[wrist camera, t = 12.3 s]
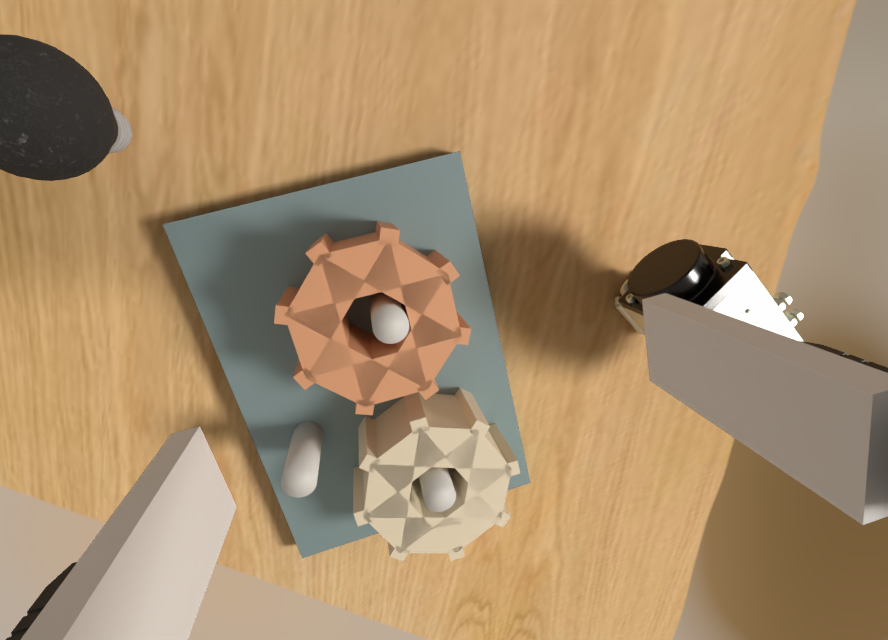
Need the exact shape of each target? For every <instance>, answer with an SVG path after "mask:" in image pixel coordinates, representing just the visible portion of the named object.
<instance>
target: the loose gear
mask: <svg viewBox="0 0 888 640" xmlns="http://www.w3.org/2000/svg"><path fill="white" fill-rule="evenodd" d="M399 234H400V230H399V229H398V228H397V227H396V226H395V225H394V224H392V223H386V222H380V221H377V223H376V231H375V232H373V233H369V234H365V235H361V236H357V237H353V238H349V239H344V240H340V241H336V242H333V241H332V239H331V238H330V237H329V236H328V234H327V233H326V234H324V235H323V236H322V237H320V238H319V239H318V240H316V241H315V242H314V243H313V244H312V245H311V246H310V248H309V249H308V250H307V252H306V253H305V254H306V255H307V256H308V257H309V258H310V260H311V261H312V262H313V263H314V264H313V266H312V268H311V269H310V271H309V273H308V275H307V276H306V278H305V280H304V282H303V283H302V285H301V287H300V288H297V287H289V286H288V288H287V289H286V291H285V292H284V294H283V295H282V297H281V298H280V300H279V301H278V303H277V304H276V307H275V318H274V324H282V325H288V328H289V331H290V334H291V337H292V340H293V343H294V345H295V348H296V351H297V354H298V357H299V360H298V363H297V366H296V369H295V372H294V375H293V378H294V379H295V380H296V381H297V382H298V383H299V385H300V386H301V387H302V388H303V389H304V390H306V389H307V388H308V387H310V386H311V385H313V384H314V383H316V384H318V385H320V386H322V387H324V388H326V389H328V390H331V391H333V392H335V393H337V394H339V395H341V396H343V397H345V398H347V399H349V400H351V401H354V402H355V414H362V415H373V411H374V404H378V403H381V402H385V401H388V400H392V399H396V398H399V397H403V396H406V395H410V394H413V393H417V392H419V393H420V394H421V395H422V396H423V398H424V399H425V400H427V399H428V398H429V397H431V396H432V395H433V394H435V393H436V392H437V391H439V388H438V386H437V384H436V381H435V377H436V376H437V374H438V372H439V371H440V369H441V368H442V366H443V365H444V363H445V362H446V360H447V358H448V357H449V355H450V354H451V352H452V351H453V349H454V347H455V346H456V344H462V345H468V344H469V338H470V333H471V328H470V327H469V325H468V324H467V323H466V322H465V321H464V319H463V318H462V317H461V316H460V315H459V313H458V312H457V311H456V308H455V303H454V299H453V294H452V289H451V285H450V283H451V282H452V281H454V280H455V279H456V278H458V277H459V276H460V275H459V273H458V272H457V271H456V269H455V268H454V266H453V265H452V263H451V262H450V261H449V260H448V259H446V258H445V257H444V256H442V255H441V254H440V253H438V252H437V251H436V250H434V251H433V252H431V253H430V254H429V255H427V256H425V255H424V254H422V253H420V252H419V251H417V250H416V249H414V248H412V247H411V246H409V245H407V244H406V243H404V242H403V241H401V240H399ZM379 292H383V293H384V294H386V295H388V296H390V297H391V298H393V299H395V300H397V301H399V302H400V303H402V306H403V308H404V311H405V313H406V316H407V318H408V321H409V331H408V333H407V335H406V337H405V338H404V339H403V340H401V341H400V342H398V343H394V344H386V343H383V342H381V341H380V340H378V339H377V338H376V336H375V335H374V333H373V332H372V333H368V332H366V331H364V330H362V329H360V328H358V327H357V326H355V325H353V324H351V323H349V320H348V317H347V313H346V312H347V311H348V309H349V307H350V306H351V304H352V302H353V301H354V299H356V298H360V297H364V296H368V295H371V294H375V293H379Z"/></svg>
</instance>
